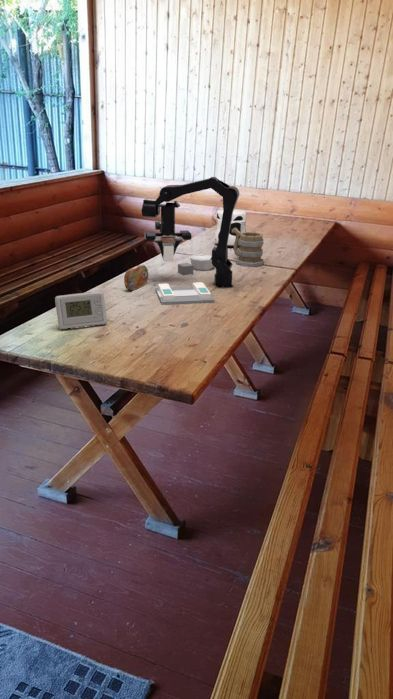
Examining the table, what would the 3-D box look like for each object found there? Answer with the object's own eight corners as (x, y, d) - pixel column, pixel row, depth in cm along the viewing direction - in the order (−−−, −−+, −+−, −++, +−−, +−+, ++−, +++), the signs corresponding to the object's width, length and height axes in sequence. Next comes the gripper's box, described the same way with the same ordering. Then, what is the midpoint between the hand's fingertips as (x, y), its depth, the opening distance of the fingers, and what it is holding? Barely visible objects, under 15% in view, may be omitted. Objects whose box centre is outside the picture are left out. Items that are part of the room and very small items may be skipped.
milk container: (212, 241, 303) (213, 208, 296) (242, 241, 305) (244, 208, 298) (216, 248, 288) (217, 214, 281) (248, 248, 290) (251, 214, 282)
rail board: (203, 288, 223) (204, 280, 222) (214, 302, 207) (214, 294, 206) (155, 290, 219) (155, 282, 218) (161, 304, 203) (161, 296, 202)
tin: (129, 292, 216) (129, 272, 212) (123, 291, 217) (122, 270, 214) (149, 283, 228) (148, 263, 225) (142, 282, 229) (142, 262, 226)
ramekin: (209, 264, 259) (209, 253, 257) (217, 270, 249) (218, 259, 247) (186, 265, 255) (187, 254, 253) (194, 272, 246) (194, 260, 244)
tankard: (268, 264, 261) (270, 233, 255) (247, 268, 254) (249, 235, 248) (241, 255, 276) (243, 225, 270) (221, 258, 269) (223, 228, 263)
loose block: (187, 271, 247) (187, 262, 245) (193, 274, 243) (193, 265, 241) (177, 272, 244) (177, 264, 243) (183, 275, 240) (183, 266, 239)
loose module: (171, 257, 231) (171, 242, 228) (173, 260, 225) (173, 246, 223) (161, 257, 230) (161, 243, 228) (164, 261, 225) (164, 246, 222)
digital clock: (57, 331, 177) (54, 300, 173) (57, 321, 185) (55, 291, 181) (107, 328, 180) (106, 297, 176) (106, 319, 188) (104, 289, 184)
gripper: (186, 214, 230) (186, 251, 236) (142, 214, 226) (143, 252, 233) (192, 219, 220) (191, 257, 226) (145, 219, 216) (146, 258, 223)
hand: (167, 256), depth 227 cm, fingers closed on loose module, 4 cm apart
